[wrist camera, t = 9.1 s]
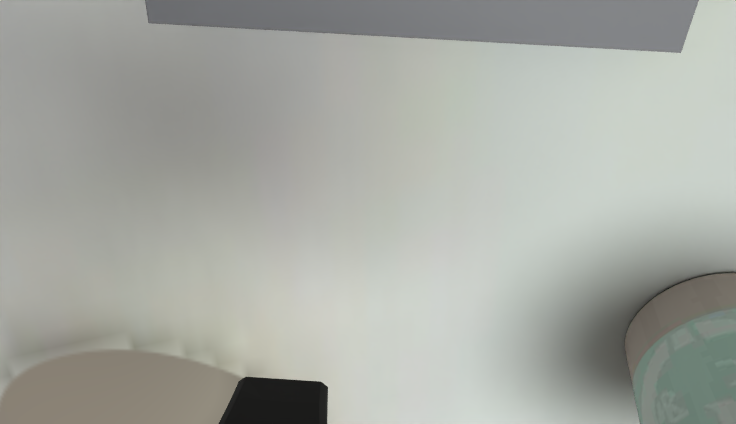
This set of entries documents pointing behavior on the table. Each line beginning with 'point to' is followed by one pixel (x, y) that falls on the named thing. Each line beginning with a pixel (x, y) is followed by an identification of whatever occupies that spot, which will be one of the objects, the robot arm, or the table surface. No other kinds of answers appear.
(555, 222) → the table surface
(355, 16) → the control panel
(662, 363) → the coffee cup
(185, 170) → the table surface
